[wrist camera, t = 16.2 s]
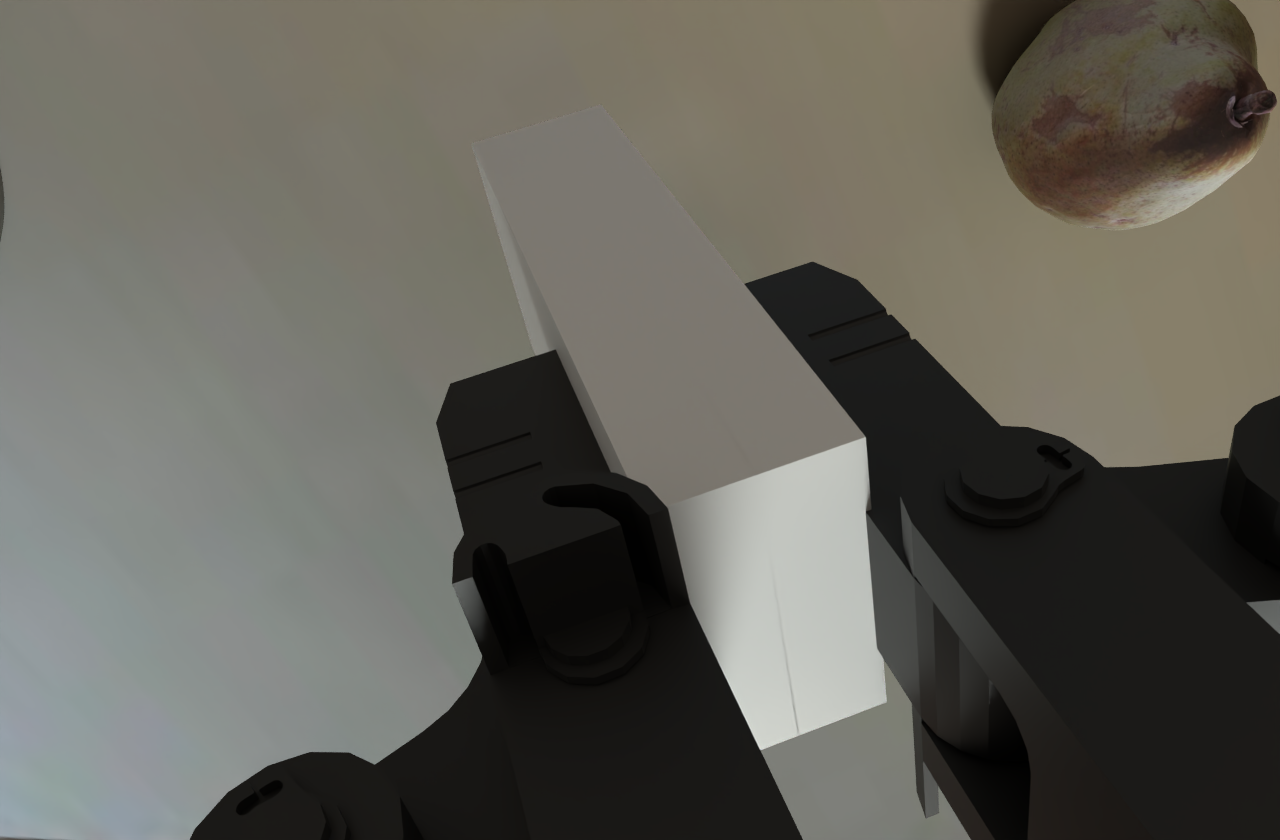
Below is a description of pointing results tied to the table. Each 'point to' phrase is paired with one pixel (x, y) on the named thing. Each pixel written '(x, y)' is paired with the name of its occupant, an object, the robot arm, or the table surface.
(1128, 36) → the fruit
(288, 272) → the table surface
